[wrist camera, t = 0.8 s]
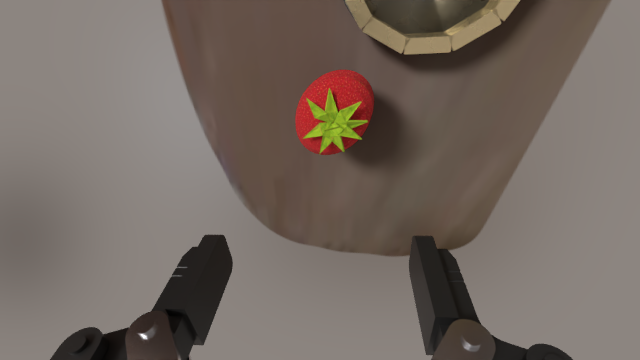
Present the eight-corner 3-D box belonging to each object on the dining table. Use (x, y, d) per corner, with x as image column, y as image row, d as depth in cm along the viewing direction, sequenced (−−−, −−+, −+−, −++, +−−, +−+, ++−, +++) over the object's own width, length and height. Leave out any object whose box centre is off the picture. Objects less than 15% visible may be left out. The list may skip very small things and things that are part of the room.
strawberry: (289, 106, 31) (269, 156, 23) (332, 38, 27) (325, 69, 19) (338, 137, 32) (335, 194, 24) (385, 77, 29) (400, 120, 20)
